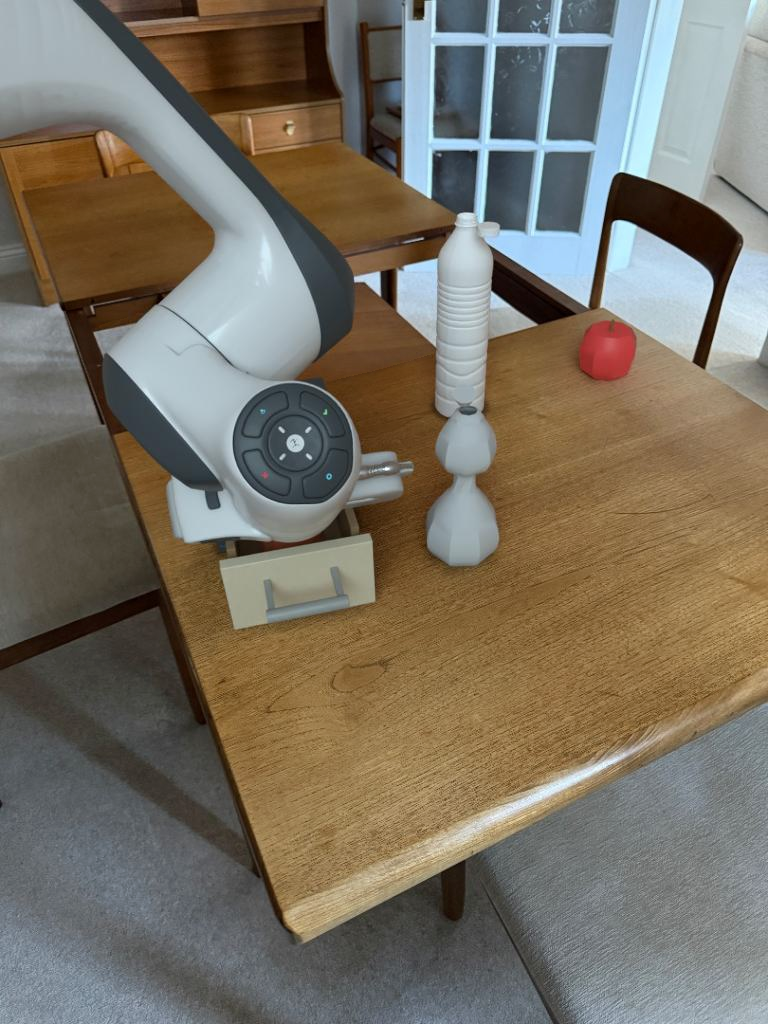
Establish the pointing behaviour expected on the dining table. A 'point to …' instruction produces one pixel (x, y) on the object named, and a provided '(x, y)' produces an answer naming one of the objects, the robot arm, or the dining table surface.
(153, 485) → the dining table surface
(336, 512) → the robot arm
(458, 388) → the gourd bottle
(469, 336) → the water bottle
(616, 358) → the apple
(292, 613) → the drawer
